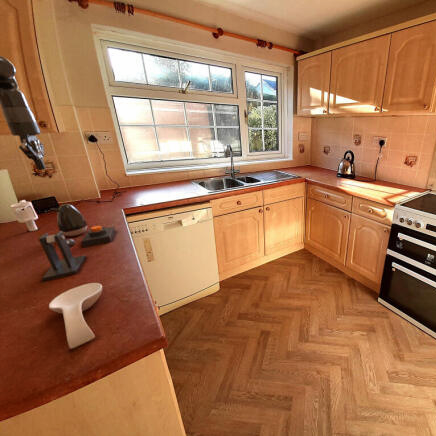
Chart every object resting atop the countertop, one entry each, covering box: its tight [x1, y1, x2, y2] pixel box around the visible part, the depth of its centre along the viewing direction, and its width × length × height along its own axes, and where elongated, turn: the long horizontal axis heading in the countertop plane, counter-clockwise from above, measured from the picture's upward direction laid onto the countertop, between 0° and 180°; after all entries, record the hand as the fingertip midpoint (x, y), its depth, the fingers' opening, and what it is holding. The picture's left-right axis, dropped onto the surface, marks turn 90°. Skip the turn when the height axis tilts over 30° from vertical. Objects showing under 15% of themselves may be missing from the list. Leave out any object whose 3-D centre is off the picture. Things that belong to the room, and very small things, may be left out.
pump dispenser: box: [49, 203, 88, 237], centre depth 114 cm, size 10×10×15 cm
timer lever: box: [46, 234, 76, 249], centre depth 90 cm, size 15×3×3 cm
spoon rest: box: [48, 282, 103, 350], centre depth 65 cm, size 24×12×7 cm, turn 41°
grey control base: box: [80, 226, 116, 248], centre depth 110 cm, size 12×10×4 cm
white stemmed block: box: [10, 199, 39, 232], centre depth 121 cm, size 7×7×15 cm
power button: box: [90, 225, 102, 232], centre depth 109 cm, size 4×4×2 cm
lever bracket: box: [38, 230, 87, 282], centre depth 86 cm, size 12×9×14 cm
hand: (41, 169), depth 94 cm, fingers closed
